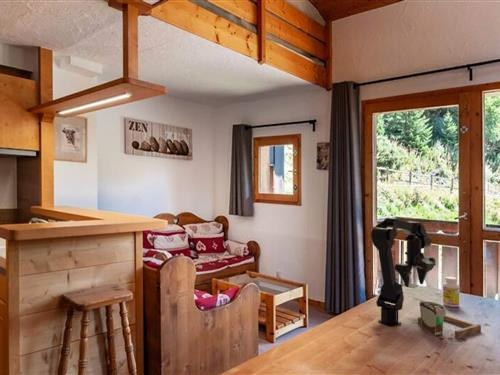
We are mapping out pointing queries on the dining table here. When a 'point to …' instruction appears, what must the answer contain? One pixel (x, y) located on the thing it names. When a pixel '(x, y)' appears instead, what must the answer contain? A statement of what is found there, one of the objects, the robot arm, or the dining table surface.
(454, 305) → the supplement bottle
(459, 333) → the bay
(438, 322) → the food container
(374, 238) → the robot arm
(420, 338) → the dining table surface
